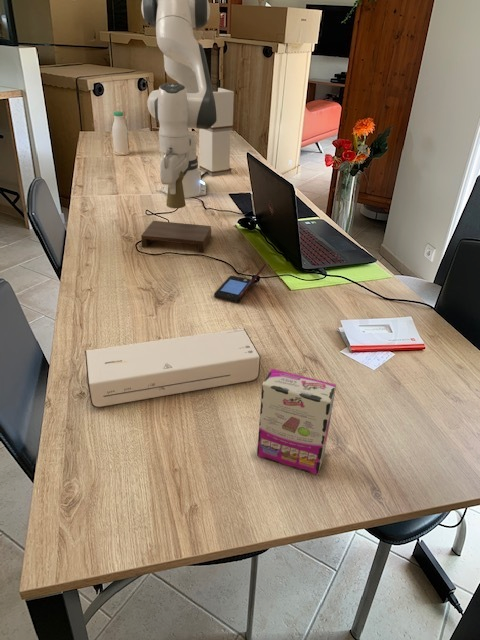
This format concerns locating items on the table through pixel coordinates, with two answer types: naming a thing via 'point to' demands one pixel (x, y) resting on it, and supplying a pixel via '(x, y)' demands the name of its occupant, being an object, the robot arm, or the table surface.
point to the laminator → (170, 367)
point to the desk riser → (177, 233)
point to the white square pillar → (218, 137)
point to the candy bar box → (294, 420)
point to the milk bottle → (120, 134)
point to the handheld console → (235, 288)
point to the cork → (177, 195)
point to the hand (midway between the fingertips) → (175, 190)
